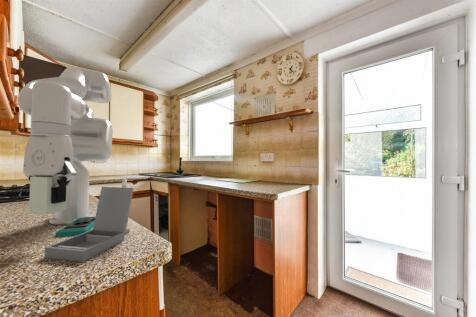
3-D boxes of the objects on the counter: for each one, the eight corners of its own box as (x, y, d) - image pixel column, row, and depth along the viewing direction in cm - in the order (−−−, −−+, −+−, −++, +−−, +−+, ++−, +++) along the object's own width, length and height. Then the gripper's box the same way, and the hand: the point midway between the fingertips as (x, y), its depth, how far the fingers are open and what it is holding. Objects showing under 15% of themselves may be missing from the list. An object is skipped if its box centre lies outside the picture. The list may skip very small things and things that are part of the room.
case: (44, 261, 44) (44, 247, 44) (92, 240, 56) (92, 229, 56) (83, 265, 42) (83, 251, 42) (124, 242, 54) (124, 231, 54)
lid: (101, 186, 59) (104, 187, 60) (92, 229, 56) (96, 229, 57) (132, 187, 57) (134, 188, 58) (124, 231, 54) (127, 231, 55)
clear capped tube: (116, 236, 58) (117, 179, 58) (122, 234, 60) (123, 178, 61) (123, 237, 58) (125, 179, 58) (129, 234, 60) (130, 178, 60)
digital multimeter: (101, 223, 72) (101, 215, 72) (85, 238, 58) (85, 228, 58) (77, 225, 69) (77, 217, 69) (54, 241, 55) (54, 231, 55)
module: (28, 213, 49) (30, 174, 49) (51, 208, 54) (52, 173, 54) (45, 214, 48) (47, 174, 48) (66, 209, 53) (67, 173, 53)
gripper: (6, 130, 49) (3, 203, 48) (64, 128, 46) (61, 206, 46) (41, 134, 56) (38, 198, 56) (92, 133, 54) (90, 200, 53)
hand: (49, 201), depth 51 cm, fingers closed on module, 5 cm apart
